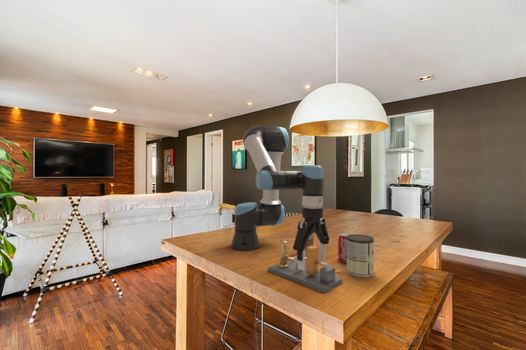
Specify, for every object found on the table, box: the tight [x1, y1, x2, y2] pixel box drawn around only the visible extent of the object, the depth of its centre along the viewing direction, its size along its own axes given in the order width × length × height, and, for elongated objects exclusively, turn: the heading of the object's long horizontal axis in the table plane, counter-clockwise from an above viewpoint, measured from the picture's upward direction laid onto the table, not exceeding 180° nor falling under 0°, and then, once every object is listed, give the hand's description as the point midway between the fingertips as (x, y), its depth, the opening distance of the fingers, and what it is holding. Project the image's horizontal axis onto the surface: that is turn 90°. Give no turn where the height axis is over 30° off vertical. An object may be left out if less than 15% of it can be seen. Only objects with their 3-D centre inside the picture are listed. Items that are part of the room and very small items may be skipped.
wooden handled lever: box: [293, 245, 329, 276], centre depth 93 cm, size 13×5×10 cm, turn 44°
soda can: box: [337, 232, 352, 264], centre depth 113 cm, size 7×7×12 cm
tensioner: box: [319, 265, 336, 284], centre depth 88 cm, size 3×5×4 cm, turn 134°
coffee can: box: [346, 233, 375, 278], centre depth 100 cm, size 10×10×14 cm
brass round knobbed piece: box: [277, 239, 294, 268], centre depth 102 cm, size 8×5×10 cm, turn 44°
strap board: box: [267, 260, 343, 294], centre depth 96 cm, size 26×12×2 cm, turn 44°
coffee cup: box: [297, 222, 315, 257], centre depth 122 cm, size 8×8×15 cm
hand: (312, 264), depth 93 cm, fingers open, 12 cm apart
